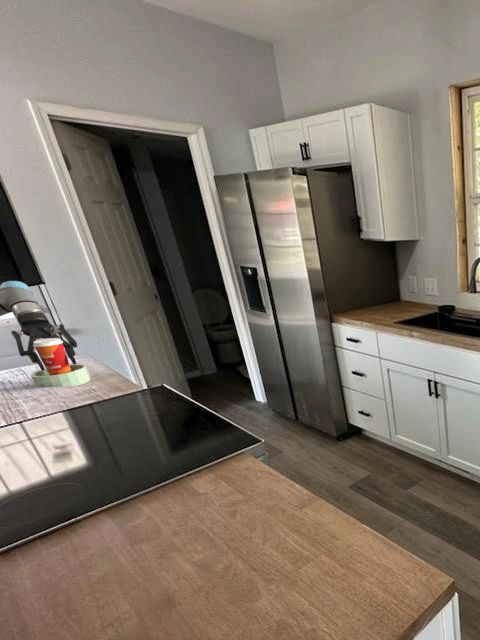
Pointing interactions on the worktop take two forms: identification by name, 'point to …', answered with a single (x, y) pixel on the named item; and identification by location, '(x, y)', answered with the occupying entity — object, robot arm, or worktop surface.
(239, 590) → the worktop surface
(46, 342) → the paper cup
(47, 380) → the bowl
